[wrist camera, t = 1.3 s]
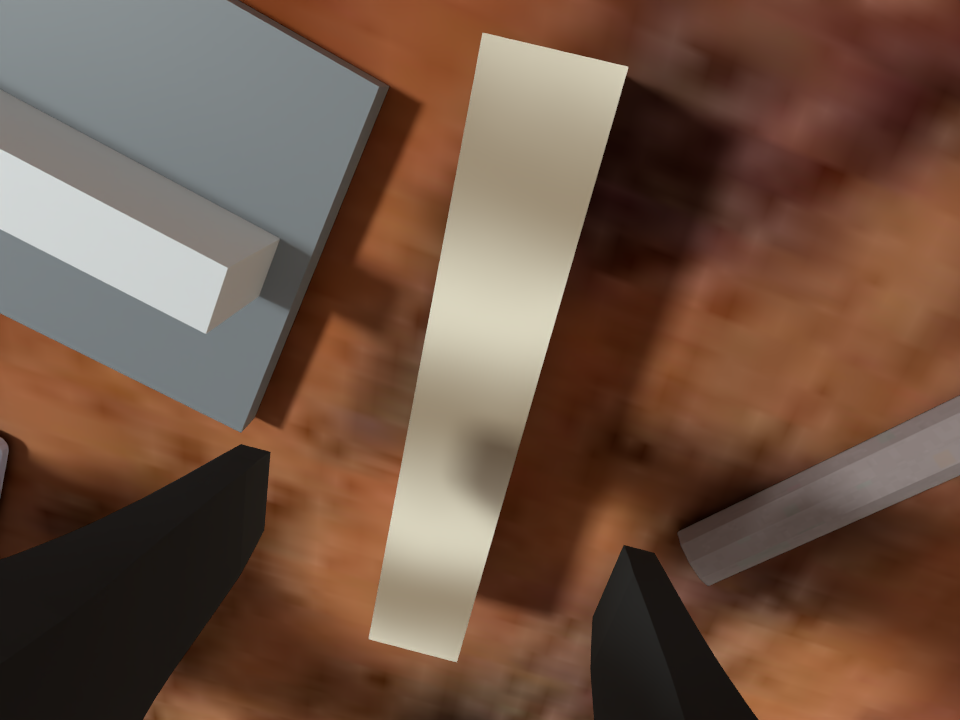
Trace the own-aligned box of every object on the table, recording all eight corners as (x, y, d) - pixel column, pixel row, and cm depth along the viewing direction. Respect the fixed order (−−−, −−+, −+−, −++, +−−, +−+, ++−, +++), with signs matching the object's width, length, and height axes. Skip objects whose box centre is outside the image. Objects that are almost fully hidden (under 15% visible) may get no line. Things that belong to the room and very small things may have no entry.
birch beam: (473, 573, 24) (456, 662, 20) (398, 553, 24) (368, 639, 20) (613, 70, 16) (628, 66, 12) (501, 43, 16) (482, 32, 12)
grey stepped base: (254, 417, 21) (191, 486, 18) (-133, 223, 20) (-286, 255, 16) (389, 86, 16) (339, 88, 13) (-119, -203, 15) (-337, -294, 11)
